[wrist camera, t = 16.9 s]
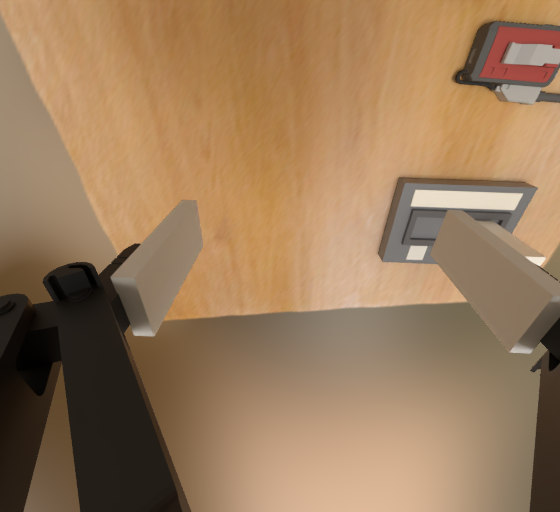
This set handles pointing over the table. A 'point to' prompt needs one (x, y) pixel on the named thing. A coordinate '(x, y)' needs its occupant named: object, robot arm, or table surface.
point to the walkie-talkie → (514, 61)
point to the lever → (514, 242)
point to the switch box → (433, 207)
